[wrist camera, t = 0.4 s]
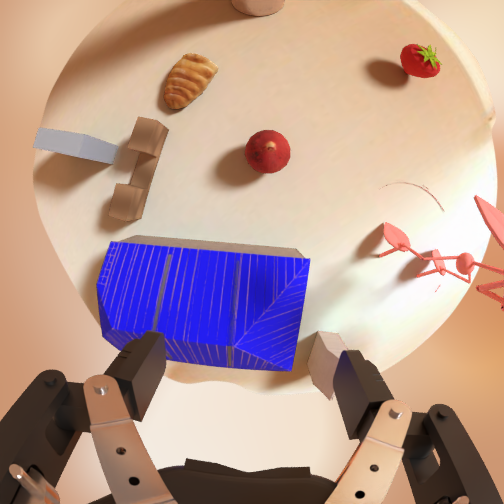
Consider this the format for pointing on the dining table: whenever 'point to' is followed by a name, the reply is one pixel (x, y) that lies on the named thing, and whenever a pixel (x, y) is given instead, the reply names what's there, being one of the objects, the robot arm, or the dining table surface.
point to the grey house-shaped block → (325, 361)
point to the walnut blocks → (139, 170)
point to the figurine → (499, 227)
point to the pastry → (188, 80)
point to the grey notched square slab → (75, 145)
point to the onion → (267, 151)
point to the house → (205, 300)
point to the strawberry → (419, 61)
